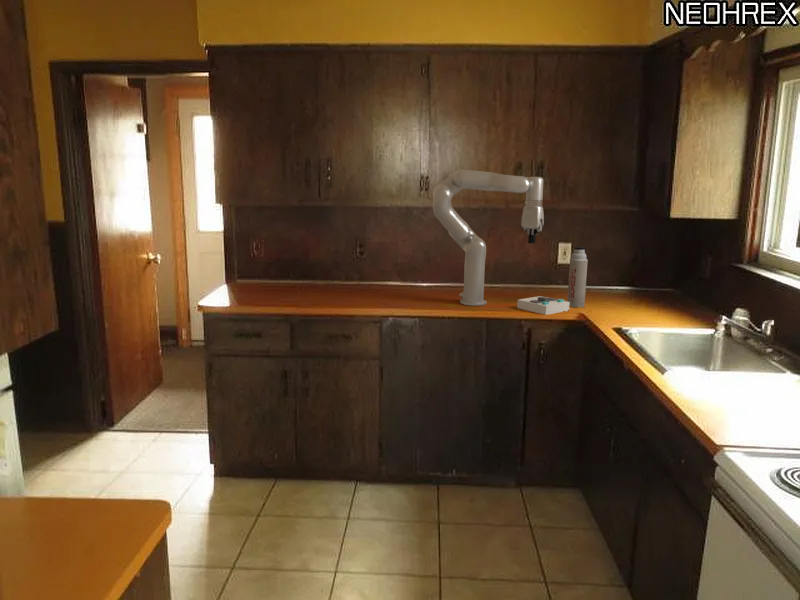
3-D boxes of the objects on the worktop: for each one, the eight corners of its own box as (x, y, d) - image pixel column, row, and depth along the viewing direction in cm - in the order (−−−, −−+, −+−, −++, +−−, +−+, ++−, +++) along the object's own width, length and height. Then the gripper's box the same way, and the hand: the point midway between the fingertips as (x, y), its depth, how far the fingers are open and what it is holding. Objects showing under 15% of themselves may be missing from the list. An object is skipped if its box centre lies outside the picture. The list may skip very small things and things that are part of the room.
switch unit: (517, 308, 305) (517, 297, 304) (540, 304, 315) (541, 293, 314) (545, 314, 292) (546, 303, 291) (569, 310, 302) (569, 299, 301)
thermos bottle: (573, 308, 307) (577, 248, 301) (563, 304, 314) (567, 246, 309) (587, 307, 310) (592, 247, 304) (577, 303, 317) (581, 245, 312)
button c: (544, 305, 307) (545, 298, 306) (549, 304, 309) (549, 297, 308) (551, 307, 304) (552, 299, 303) (556, 306, 306) (556, 299, 305)
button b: (537, 304, 304) (537, 297, 303) (542, 303, 306) (542, 296, 305) (544, 306, 301) (544, 298, 300) (549, 305, 302) (549, 298, 302)
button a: (529, 308, 301) (530, 300, 300) (534, 307, 303) (534, 299, 302) (536, 309, 298) (537, 302, 297) (541, 309, 300) (541, 301, 299)
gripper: (516, 203, 310) (514, 242, 314) (540, 204, 298) (538, 245, 302) (527, 202, 314) (525, 241, 318) (551, 204, 303) (549, 244, 306)
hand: (531, 243), depth 310 cm, fingers closed
